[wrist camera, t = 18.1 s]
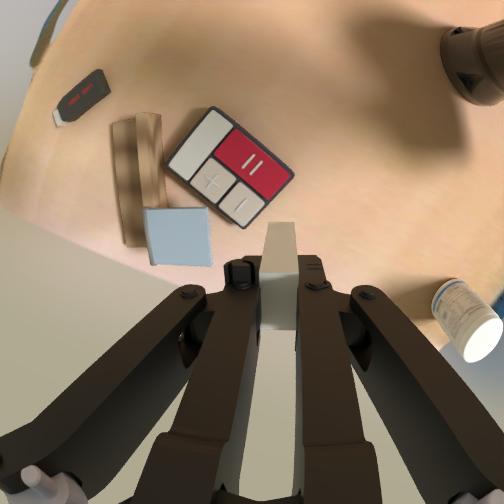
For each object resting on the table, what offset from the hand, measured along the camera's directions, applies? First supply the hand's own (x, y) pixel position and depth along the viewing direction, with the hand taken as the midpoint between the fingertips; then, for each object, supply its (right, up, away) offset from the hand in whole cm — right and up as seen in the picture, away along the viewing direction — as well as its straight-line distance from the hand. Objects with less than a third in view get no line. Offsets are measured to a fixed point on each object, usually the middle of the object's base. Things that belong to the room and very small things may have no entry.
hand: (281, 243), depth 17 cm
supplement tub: (+37, -10, +29) cm, 48 cm away
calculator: (-5, +12, +24) cm, 27 cm away
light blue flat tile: (-12, +2, +21) cm, 24 cm away
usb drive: (-31, +26, +20) cm, 46 cm away
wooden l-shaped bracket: (-19, +11, +25) cm, 33 cm away
